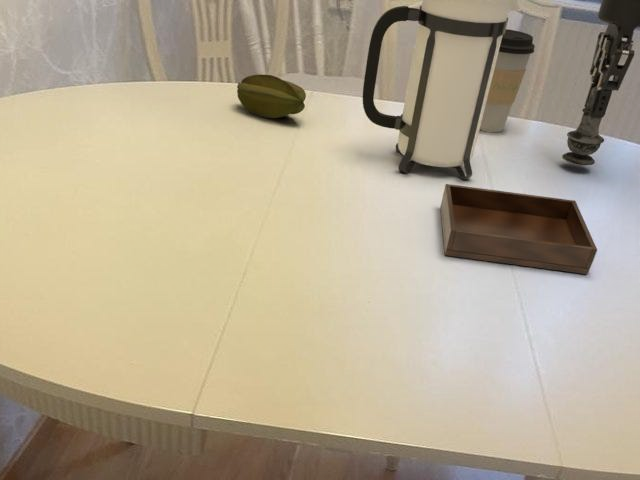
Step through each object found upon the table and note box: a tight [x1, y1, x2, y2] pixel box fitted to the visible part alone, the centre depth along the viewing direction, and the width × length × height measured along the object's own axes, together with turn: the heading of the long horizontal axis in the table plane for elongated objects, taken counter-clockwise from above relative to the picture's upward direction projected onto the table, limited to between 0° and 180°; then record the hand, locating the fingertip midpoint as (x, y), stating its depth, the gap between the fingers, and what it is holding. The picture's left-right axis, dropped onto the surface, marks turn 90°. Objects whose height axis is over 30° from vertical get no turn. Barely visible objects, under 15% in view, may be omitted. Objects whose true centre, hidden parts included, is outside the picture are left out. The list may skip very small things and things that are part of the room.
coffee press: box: [362, 0, 522, 181], centre depth 110 cm, size 17×16×30 cm
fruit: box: [236, 73, 307, 119], centre depth 130 cm, size 11×12×7 cm
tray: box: [440, 183, 598, 275], centre depth 100 cm, size 18×16×3 cm
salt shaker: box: [561, 86, 605, 166], centre depth 120 cm, size 6×6×12 cm
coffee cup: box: [479, 28, 536, 133], centre depth 133 cm, size 9×9×15 cm
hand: (593, 112), depth 119 cm, fingers closed on salt shaker, 3 cm apart
